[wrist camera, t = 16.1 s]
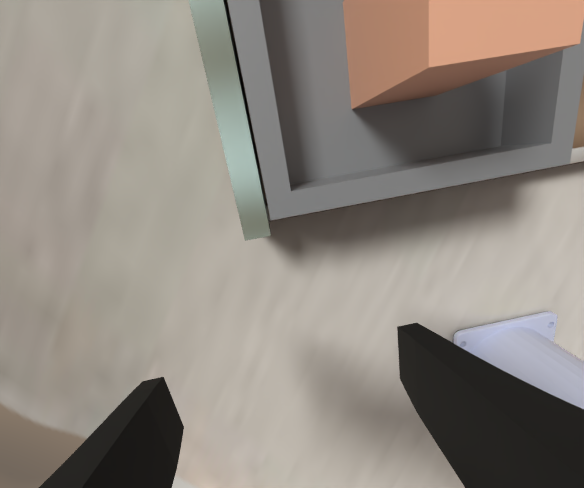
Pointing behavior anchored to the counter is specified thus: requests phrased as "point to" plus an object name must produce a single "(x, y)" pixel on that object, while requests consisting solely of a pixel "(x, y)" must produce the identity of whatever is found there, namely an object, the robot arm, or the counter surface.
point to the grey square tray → (387, 116)
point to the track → (237, 123)
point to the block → (448, 42)
